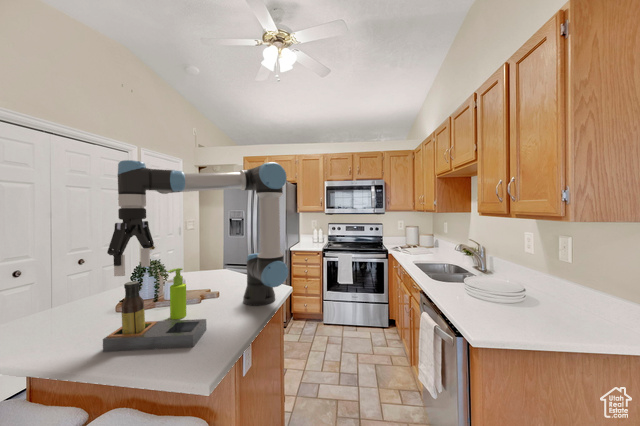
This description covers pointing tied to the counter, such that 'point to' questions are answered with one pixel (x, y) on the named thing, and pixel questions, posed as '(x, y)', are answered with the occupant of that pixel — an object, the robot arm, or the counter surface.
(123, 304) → the sauce bottle
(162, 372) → the counter surface
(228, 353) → the counter surface
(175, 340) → the grey tray
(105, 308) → the counter surface
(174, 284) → the soap dispenser
